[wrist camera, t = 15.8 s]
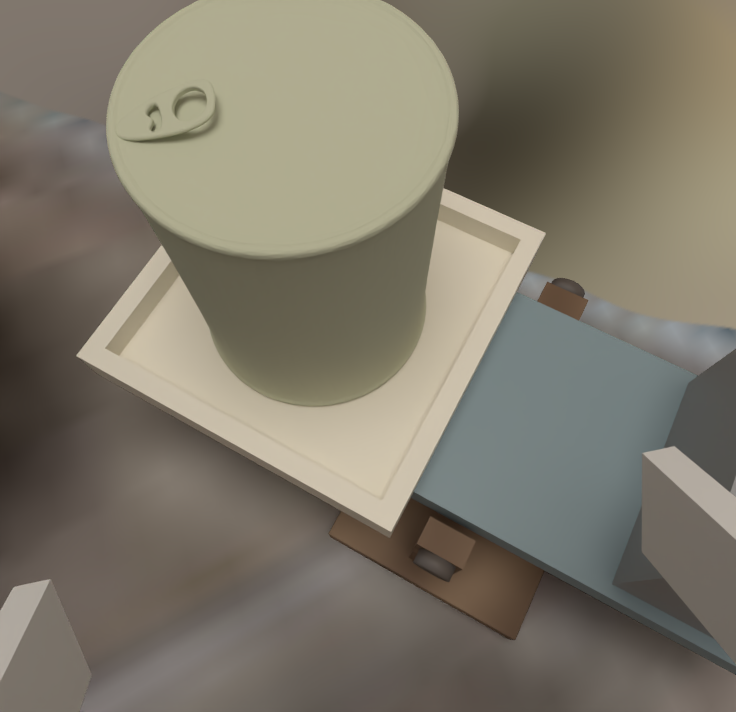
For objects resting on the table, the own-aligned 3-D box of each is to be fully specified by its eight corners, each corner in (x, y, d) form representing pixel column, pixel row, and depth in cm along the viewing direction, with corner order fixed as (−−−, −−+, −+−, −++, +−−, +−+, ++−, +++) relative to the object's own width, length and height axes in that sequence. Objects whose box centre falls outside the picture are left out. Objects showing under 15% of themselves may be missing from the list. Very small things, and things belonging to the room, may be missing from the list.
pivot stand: (330, 537, 33) (316, 514, 25) (456, 307, 38) (476, 232, 30) (508, 638, 31) (550, 646, 23) (617, 383, 36) (680, 322, 28)
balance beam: (110, 385, 28) (8, 297, 20) (276, 160, 33) (246, 16, 25) (784, 765, 23) (1005, 847, 15) (871, 430, 27) (1075, 356, 19)
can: (196, 234, 28) (84, -11, 17) (397, 196, 29) (413, -62, 18) (224, 429, 25) (106, 282, 14) (450, 380, 26) (511, 203, 15)
